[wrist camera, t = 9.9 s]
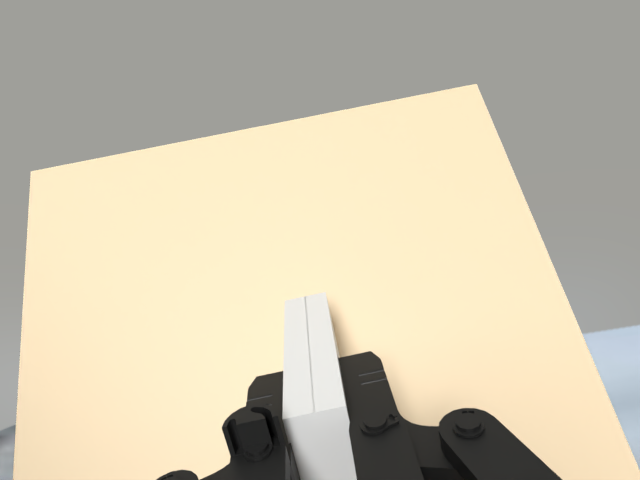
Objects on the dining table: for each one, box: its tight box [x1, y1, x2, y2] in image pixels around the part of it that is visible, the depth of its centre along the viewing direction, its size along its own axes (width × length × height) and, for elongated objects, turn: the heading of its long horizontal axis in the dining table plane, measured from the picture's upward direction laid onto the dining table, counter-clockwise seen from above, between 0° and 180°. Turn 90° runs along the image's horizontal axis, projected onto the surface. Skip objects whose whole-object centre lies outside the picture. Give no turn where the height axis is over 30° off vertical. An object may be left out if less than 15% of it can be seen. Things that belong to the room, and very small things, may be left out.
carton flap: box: [13, 84, 640, 480], centre depth 20 cm, size 21×18×1 cm
